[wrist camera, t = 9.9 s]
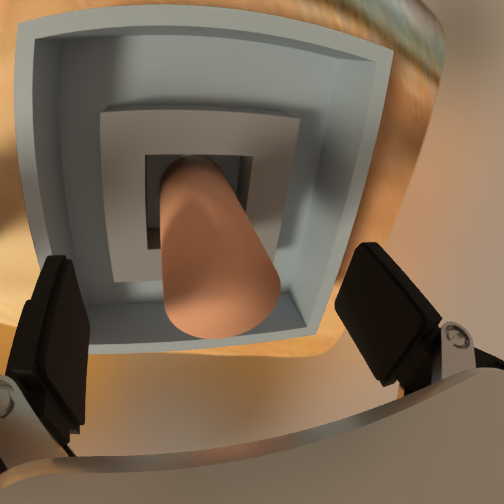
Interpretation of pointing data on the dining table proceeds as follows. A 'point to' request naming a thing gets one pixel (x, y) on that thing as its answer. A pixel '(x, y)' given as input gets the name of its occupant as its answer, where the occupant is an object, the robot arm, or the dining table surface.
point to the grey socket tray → (192, 151)
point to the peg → (211, 254)
